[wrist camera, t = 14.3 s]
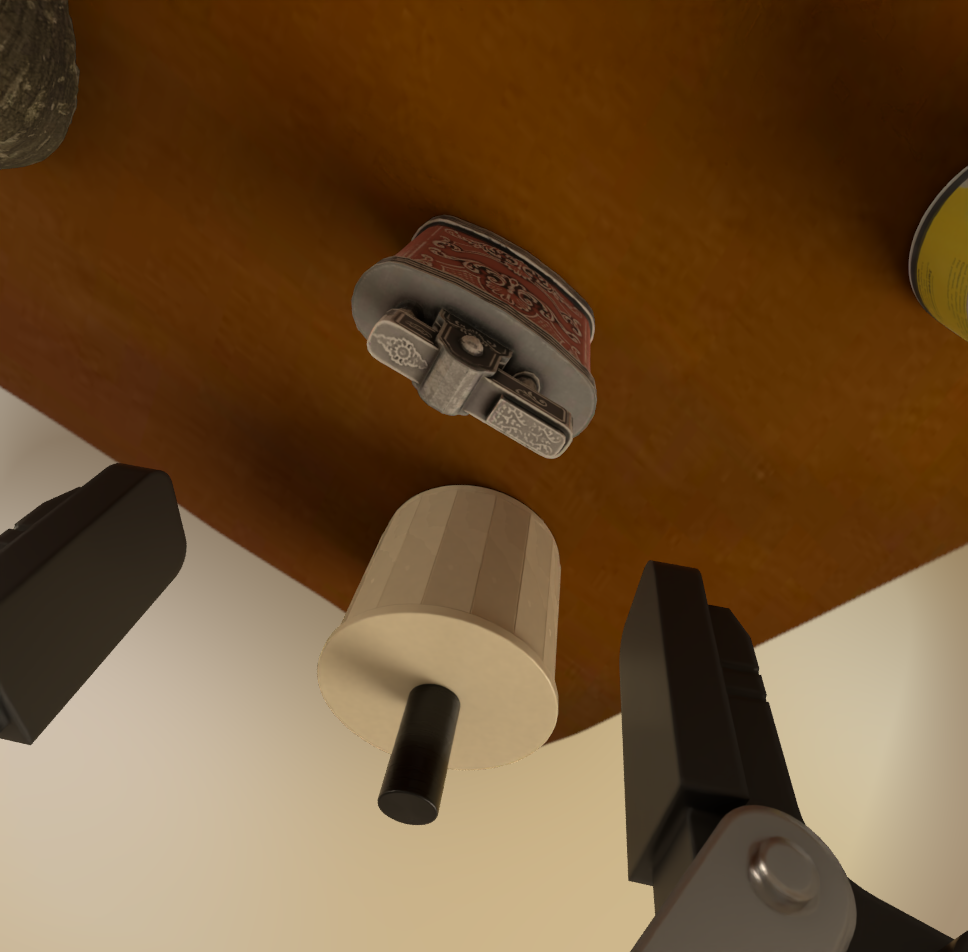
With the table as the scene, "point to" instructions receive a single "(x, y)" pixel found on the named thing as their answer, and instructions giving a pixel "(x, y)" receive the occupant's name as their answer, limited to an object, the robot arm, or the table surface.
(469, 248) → the lighter
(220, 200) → the table surface
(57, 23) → the seashell
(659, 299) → the table surface
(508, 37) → the table surface
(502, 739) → the pot lid
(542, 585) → the pot
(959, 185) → the pill bottle
